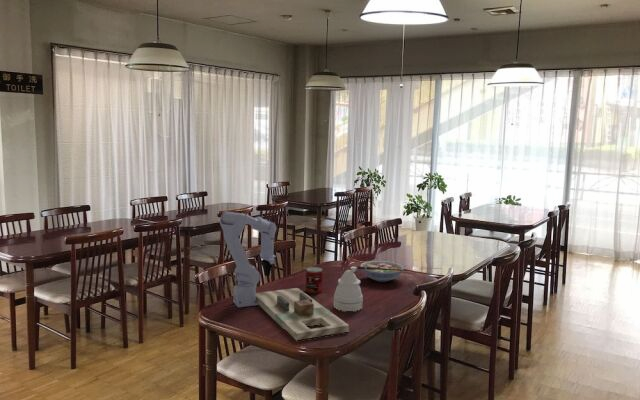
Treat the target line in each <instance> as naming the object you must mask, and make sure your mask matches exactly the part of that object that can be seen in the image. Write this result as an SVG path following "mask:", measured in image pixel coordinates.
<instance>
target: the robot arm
mask: <svg viewBox="0 0 640 400" xmlns="http://www.w3.org/2000/svg"><path fill="white" fill-rule="evenodd" d="M219 224H220V225H219V226H220V227H221V229H222V233H223V239H224V241H225V243H226V246H227V248H228V250H229V253H230V255H231V257H232V259H233V261H234V264H235V266H236V267H235V269H234V270H233V272H234V274H235V275H234V277H235V280H236V281H237V284H236V285H234V287H233V300H232V301H233V302H232V303H234V305H236V307H237V308H243V307H251V306H253V307H254V306H259V304H258V303H257V302H256V293H257V292H256V291H257V285H258V283H259V282H260V279H261V274H260V272H259V271H258V270H257V269H256V266H254V265H252V264H251V263H250V261H249V259H248V256H247V254H246V252H245V250H244V249H243V246H242V242H241V240H240V238H239V236H242V234H243V233H242V232H243V230H244V229H245V227H246V226H247V225H250V227H251V228H252V229H253V230H255V231H258V232H259V233H260V234H261V235H260V237H261V238H260V241H261V242H260V243H261V244H260V253H259V257H260V259H261V260H259V262H260V264H261V267H262V270H263V275H264V276H265V277H269V276H270V275H271V271H272V268H273V266H274V265H275V264H276V262H275V261H276V259H275V258H276V257H277V256H276V255H275V254H274V242H275V241H274V239H275V237H276V232H277V225H276V224H275V223H274V222H273V221H268V219H265V218H263V217H262V216H259V215H258V216H255V217H253V216H251V215H249V214H247V213H243V212H241V213H240V212H235V211H234V212H233V211H227V210H226V211H225V210H224V211H223V212H222V213H221V215H220V219H219Z"/></svg>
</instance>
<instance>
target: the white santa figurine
mask: <svg viewBox="0 0 640 400" xmlns="http://www.w3.org/2000/svg"><path fill="white" fill-rule="evenodd" d="M357 269H358V266H351V267H350V269H346V270H345V271H344V273H343V274H342V275H341V277H340V278H339V279H337V283H338V284H337V286H336V288H335V292H334V293H333V308H334V309H335V308H336V309H335V310H337V309H338V310H337V311H340V310H342V311H341V312H346V311H353V312H358V311H361V310H362V309H363V302H364V301H363V297H364V295H363V293H362V289H361V286H360V284H361V280H360V279H358V278H357V276H356V274H355V273H354V272H356V271H357ZM360 309H361V310H360ZM357 310H358V311H357Z"/></svg>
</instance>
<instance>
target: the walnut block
mask: <svg viewBox="0 0 640 400" xmlns="http://www.w3.org/2000/svg"><path fill="white" fill-rule="evenodd" d="M294 312H295V313H296V314H297V315H299V316H300V317H301V316H307V315H313V313H314V304H313V303H312V302H310V301H309V300H308V299H307V300H299V301H294Z"/></svg>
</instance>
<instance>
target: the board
mask: <svg viewBox="0 0 640 400" xmlns="http://www.w3.org/2000/svg"><path fill="white" fill-rule="evenodd" d="M307 299H308V300H309V301H310V302H312V303H313V304H314V313H313V315H307V316H301V317H300V316H299V315H297V314H296V313H295V312H294V301H299V300H307ZM256 302H257V303H258V304H259V305H258V306H259V307H260V308H261V309H262V310H263V311H264V312H266V314H268V316H270V317H271V318H272V320H274V322H276V323H277V325H279V326H280V327H281V328H282V329H283V330H284V329H285V330H286V331H287V332H288V333H289V334H290V335H291V336H292V337H293V338H294V339H295V340H296V341H295V340H294V339H293V338H292V337H291V336H290V335H289V334H288V333H287V332H286V331H285V330H284V331H285V332H286V333H287V334H288V335H289V336H290V337H291V338H292V339H293V340H294V341H295V342H298V341H297V340H301V339H306V338H312V337H318V336H324V335H329V334H336V333H343V332H349V331H350V330H349V328H350V327H349V326H350V325H349V324H348V323H346V322H345V321H344V320H343V319H341V318H340V317H338V316H337V315H336V314H334V313H333V312H331V311H330V310H329V309H327V308H326V307H325V306H323V305H322V304H320V303H319V302H318V301H316V300H315V299H314V298H313V297H311V296H309V295H308V294H307V293H305V292H304V291H303V290H301V289H300V288H299V287H295V288H287V289H277V290H269V291H260V292H256ZM320 324H321V325H320ZM314 325H318V326H321V327H315V326H314ZM322 325H323V326H324V327H323V326H322ZM307 326H311V327H315V328H310V327H307ZM343 334H344V333H343Z"/></svg>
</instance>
